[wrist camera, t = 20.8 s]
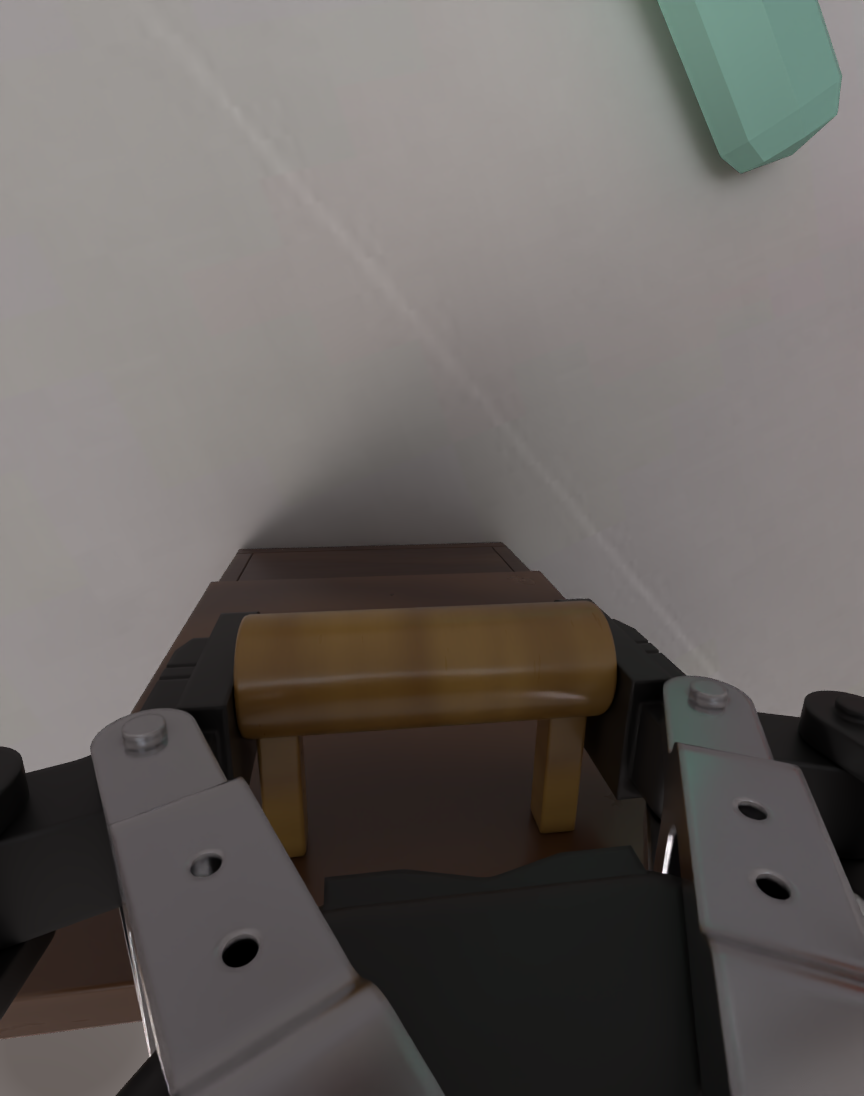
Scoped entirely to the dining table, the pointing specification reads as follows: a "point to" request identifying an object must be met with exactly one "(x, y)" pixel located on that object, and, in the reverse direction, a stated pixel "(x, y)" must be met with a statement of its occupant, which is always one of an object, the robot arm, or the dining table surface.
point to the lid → (388, 745)
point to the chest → (371, 561)
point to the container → (757, 73)
